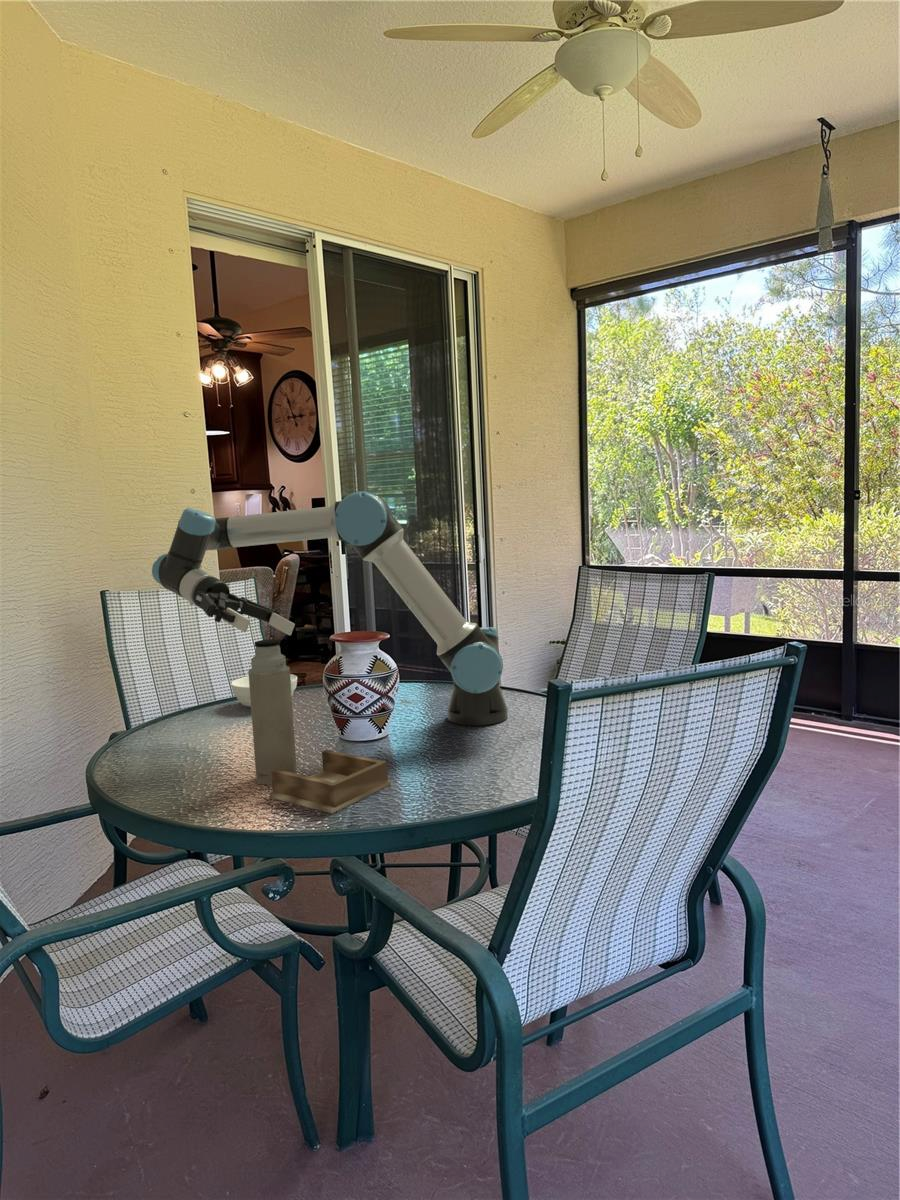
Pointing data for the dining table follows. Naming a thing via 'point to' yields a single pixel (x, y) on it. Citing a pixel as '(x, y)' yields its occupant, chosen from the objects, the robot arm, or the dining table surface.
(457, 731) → the dining table surface
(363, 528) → the robot arm
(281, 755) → the thermos bottle
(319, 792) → the walnut cradle
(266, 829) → the dining table surface
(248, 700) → the bowl
